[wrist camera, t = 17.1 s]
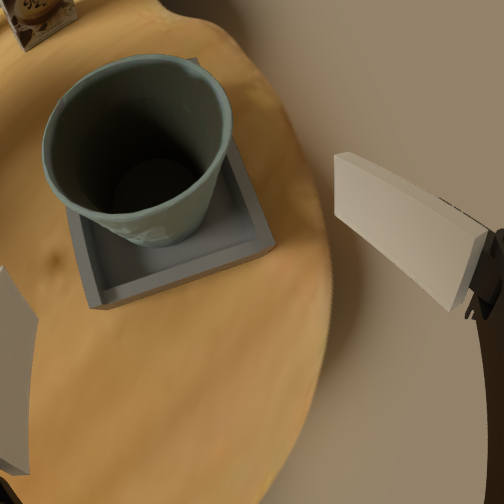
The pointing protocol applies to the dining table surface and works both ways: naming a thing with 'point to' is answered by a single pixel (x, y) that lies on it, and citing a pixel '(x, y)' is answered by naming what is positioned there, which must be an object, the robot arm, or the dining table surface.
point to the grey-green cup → (140, 147)
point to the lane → (179, 255)
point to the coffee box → (37, 18)
